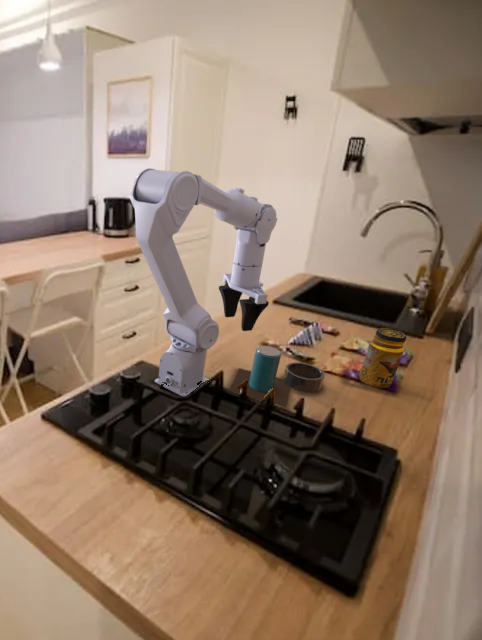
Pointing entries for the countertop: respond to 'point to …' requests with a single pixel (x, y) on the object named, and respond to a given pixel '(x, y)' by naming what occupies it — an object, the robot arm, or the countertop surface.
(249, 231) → the robot arm
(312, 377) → the ring
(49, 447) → the countertop surface
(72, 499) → the countertop surface
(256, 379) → the can
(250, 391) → the coaster
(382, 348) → the condiment
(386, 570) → the countertop surface
